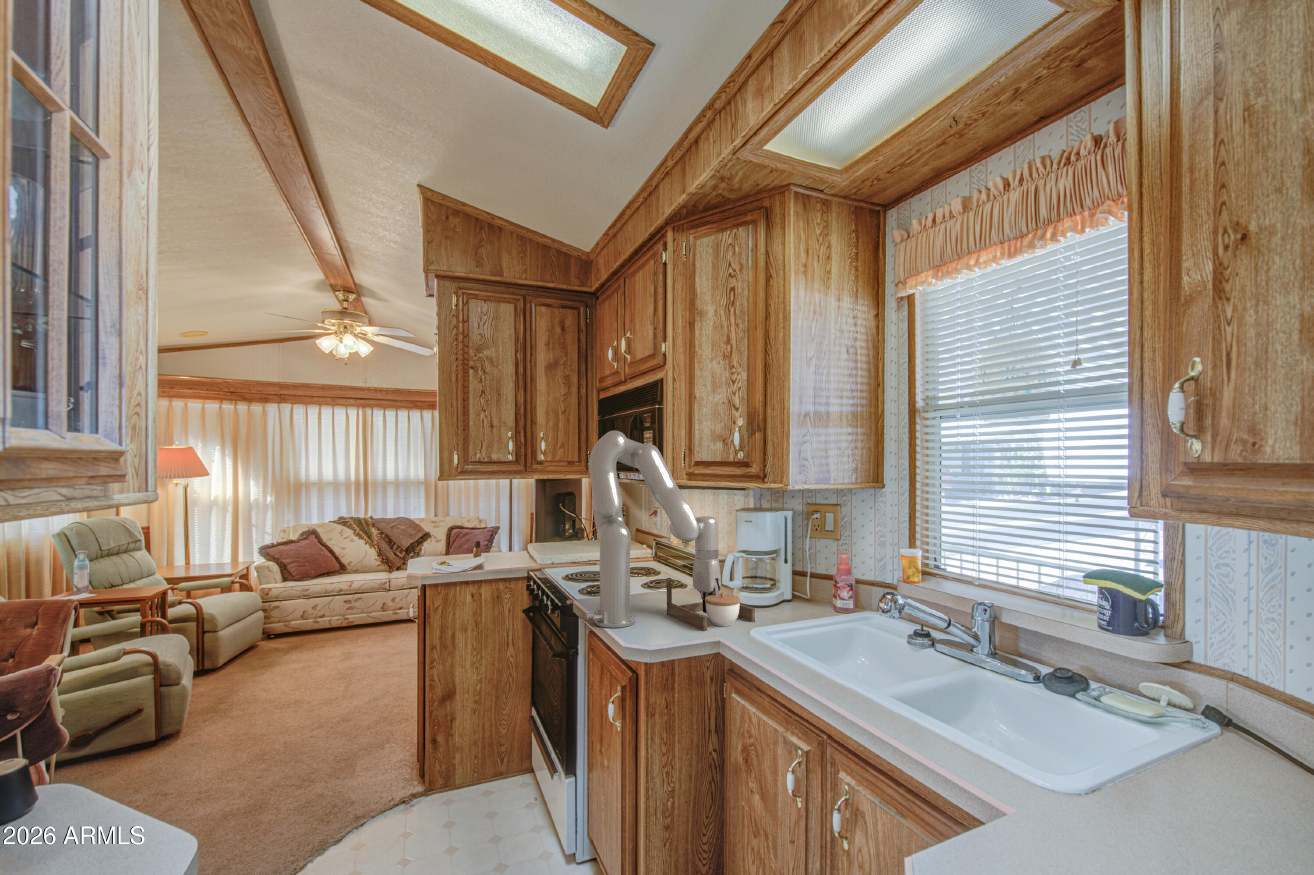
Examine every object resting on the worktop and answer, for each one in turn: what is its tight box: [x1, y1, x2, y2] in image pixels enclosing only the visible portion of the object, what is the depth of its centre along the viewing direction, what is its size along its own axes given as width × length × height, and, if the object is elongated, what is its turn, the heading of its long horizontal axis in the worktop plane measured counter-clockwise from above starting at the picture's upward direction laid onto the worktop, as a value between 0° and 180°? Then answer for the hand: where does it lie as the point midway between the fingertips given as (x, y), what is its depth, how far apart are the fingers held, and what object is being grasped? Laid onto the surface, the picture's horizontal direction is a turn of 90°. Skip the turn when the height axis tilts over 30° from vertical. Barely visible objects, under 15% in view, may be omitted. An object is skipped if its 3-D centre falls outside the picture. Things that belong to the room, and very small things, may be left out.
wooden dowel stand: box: [666, 577, 756, 632], centre depth 178 cm, size 19×21×12 cm
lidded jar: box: [705, 592, 741, 627], centre depth 172 cm, size 11×11×9 cm
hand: (708, 612), depth 179 cm, fingers closed
